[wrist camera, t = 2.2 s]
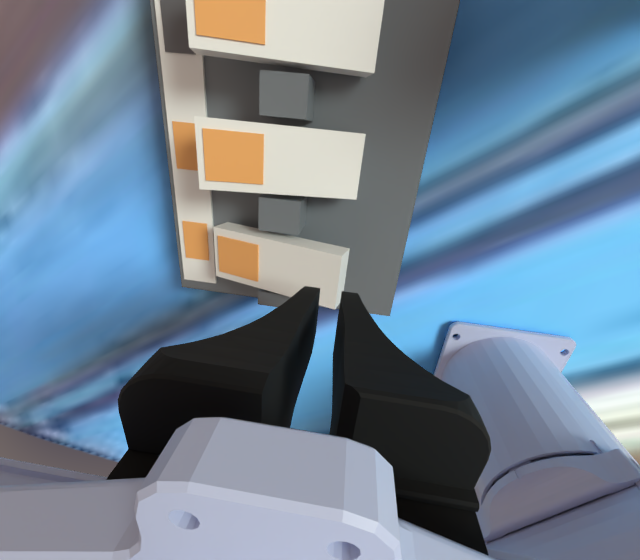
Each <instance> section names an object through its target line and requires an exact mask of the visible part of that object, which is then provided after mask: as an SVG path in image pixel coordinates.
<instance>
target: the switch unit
mask: <svg viewBox="0 0 640 560" xmlns="http://www.w3.org/2000/svg"><path fill="white" fill-rule="evenodd" d="M459 3H460V0H385V2H384V9H383V16H382V23H381V30H380V37H379V44H378V51H377V58H376V65H375V72H374V74H372V75H370V76H368V77H359V76H352V75H345V74H337V73H330V72H323V71H315V70H308V69H301V68H293V67H286V66H279V65H271V64H264V63H257V62H249V61H242V60H235V59H227V58H220V57H213V56H205V55H198V54H195V53H194V52H193V51H192V50H191V49H190V48H189V40H188V27H187V13H186V0H150V6H151V15H152V24H153V33H154V42H155V51H156V60H157V68H158V77H159V86H160V95H161V104H162V113H163V122H164V131H165V140H166V149H167V158H168V167H169V176H170V184H171V193H172V202H173V211H174V220H175V229H176V238H177V247H178V256H179V265H180V274H181V283H182V287H187V288H194V289H201V290H208V291H215V292H223V293H230V294H237V295H244V296H251V297H258V304H260V305H267V306H274V307H279V306H280V305H282V304H283V303H284V302H286V301H287V300H288V299H290V298H291V297H288V296H285V295H281V294H278V293H274V292H271V291H267V290H264V289H260V288H257V287H253V286H250V285H246V284H243V283H239V282H236V281H232V280H228V279H225V278H221V277H218V276H216V264H215V247H214V230H213V227H214V226H217V225H220V224H223V223H226V222H230V223H235V224H240V225H244V226H249V227H253V228H258V230H262V231H270V232H276V233H281V234H286V235H290V236H295V237H299V238H304V239H309V240H313V241H318V242H322V243H327V244H332V245H336V246H341V247H345V248H350V250H349V257H348V264H347V271H346V278H345V285H344V291H345V292H353V293H358V295H359V296H360V298H361V300H362V302H363V304H364V306H365V307H366V309H367V311H368V312H369V313H371V314H379V315H386V316H390V312H391V308H392V303H393V299H394V294H395V290H396V285H397V281H398V276H399V272H400V267H401V263H402V258H403V254H404V249H405V245H406V240H407V236H408V231H409V227H410V222H411V218H412V213H413V209H414V205H415V200H416V196H417V191H418V187H419V182H420V178H421V173H422V169H423V164H424V160H425V155H426V151H427V146H428V142H429V137H430V133H431V128H432V124H433V119H434V115H435V110H436V106H437V101H438V97H439V92H440V88H441V83H442V79H443V75H444V70H445V66H446V61H447V57H448V52H449V48H450V43H451V39H452V34H453V30H454V25H455V21H456V16H457V12H458V7H459ZM194 116H199V117H209V118H218V119H228V120H238V121H247V122H257V123H266V124H276V125H285V126H295V127H305V128H314V129H324V130H333V131H343V132H353V133H362V134H366V136H365V143H364V150H363V157H362V164H361V171H360V178H359V185H358V192H357V199H356V200H354V199H339V198H324V197H309V196H294V195H279V194H264V193H249V192H234V191H219V190H204V189H199V176H198V163H197V149H196V136H195V122H194ZM319 306H320V305H319ZM322 307H324V306H322ZM339 307H340V303H339V305H338V306H337V308H336V309H339Z"/></svg>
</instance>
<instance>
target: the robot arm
mask: <svg viewBox="0 0 640 560" xmlns="http://www.w3.org/2000/svg"><path fill="white" fill-rule="evenodd" d="M319 297H320V288H316V287H309V286H304V287H303V288H302V289H300V290H299V291H298V292H297V293H296V294H294V295H293V296H292V297H291V298H290V299H288V300H287V301H286V302H284V303H283V304H282V305H280V306H279V307H278V308H276V309H275V310H273V311H272V312H270V313H268V314H267V315H265V316H263V317H262V318H260V319H258V320H256V321H254V322H252V323H250V324H248V325H245V326H243V327H240V328H238V329H235V330H232V331H230V332H227V333H224V334H221V335H218V336H215V337H211V338H207V339H204V340H200V341H195V342H191V343H185V344H180V345H174V346H169V347H162V348H160V349H159V350H158V351H157V352H156V353H155V354H154V355H153V356H152V357H151V358H150V359H149V360H148V361H147V362H146V363H145V364H144V365H143V366H142V367H141V368H140V369H139V371H138V372H137V373H136V374H135V375H134V376H133V377H132V378H131V379H130V380H129V381H128V383H127V384H126V385H125V386H124V387H123V388H122V389H121V392H120V395H119V398H118V407H119V414H120V417H121V421H122V425H123V429H124V433H125V436H126V440H127V444H128V448H129V449H128V451H127V452H126V453H125V455H124V456H123V457H122V459H121V460H120V461H119V463H118V464H117V466H116V467H115V468H114V470H113V471H112V472H111V473H110V475H109V476H108V477H103V476H97V475H91V474H86V473H81V472H76V471H70V470H65V469H60V468H54V467H49V466H43V465H38V464H33V463H27V462H22V461H17V460H11V459H6V458H1V457H0V560H640V465H639V464H638V463H637V462H636V461H635V459H634V458H633V457H632V456H631V455H630V453H629V452H628V451H627V450H626V449H625V448H624V446H623V445H622V444H621V443H620V442H619V440H618V439H617V438H616V437H615V436H614V435H613V433H612V432H611V431H610V430H609V429H608V427H607V426H606V425H605V424H604V423H603V422H602V420H601V419H600V418H599V417H598V416H597V414H596V413H595V412H594V411H593V410H592V409H591V407H590V406H589V405H588V404H587V403H586V401H585V400H584V399H583V398H582V397H581V396H580V394H579V393H578V392H577V391H576V390H575V389H574V387H573V386H572V385H571V384H570V383H569V381H568V380H567V379H566V378H565V377H564V376H563V374H562V373H561V372H562V370H563V369H564V367H565V365H566V363H567V361H568V360H569V358H570V356H571V354H572V352H573V351H574V349H575V347H576V342H575V341H574V340H573V339H572V338H570V337H565V336H558V335H550V334H543V333H536V332H529V331H522V330H515V329H508V328H500V327H493V326H486V325H479V324H472V323H465V322H454V323H452V324H451V325H450V327H449V329H448V332H447V336H446V339H445V342H444V345H443V348H442V351H441V354H440V357H439V360H438V363H437V366H436V369H435V372H434V375H433V374H431V373H429V372H428V371H426V370H425V369H423V368H422V367H421V366H419V365H418V364H416V363H415V362H414V361H413V360H411V359H410V358H409V357H408V356H406V355H405V354H404V353H403V352H402V351H401V350H399V349H398V348H397V347H396V346H395V345H394V344H393V343H392V342H391V341H390V340H389V339H388V338H387V337H386V336H385V334H384V333H383V332H382V331H381V330H380V328H379V327H378V326H377V324H376V323H375V322H374V320H373V319H372V317H371V316H370V314H369V312H368V311H367V309H366V307H365V306H364V304H363V302H362V300H361V298H360V296H359V295H358V293H353V292H345V291H342V293H341V300H340V307H339V314H338V322H337V329H336V336H335V344H334V352H333V395H332V419H331V428H330V435H327V434H321V433H315V432H309V431H304V430H298V429H292V428H290V425H291V420H292V416H293V411H294V407H295V403H296V400H297V397H298V394H299V391H300V388H301V385H302V381H303V378H304V375H305V372H306V369H307V366H308V363H309V360H310V357H311V354H312V349H313V344H314V339H315V334H316V326H317V316H318V307H319ZM454 334H458V336H456V337H453V335H454ZM564 349H565V350H564ZM562 350H564V351H563V352H561V351H562Z"/></svg>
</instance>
